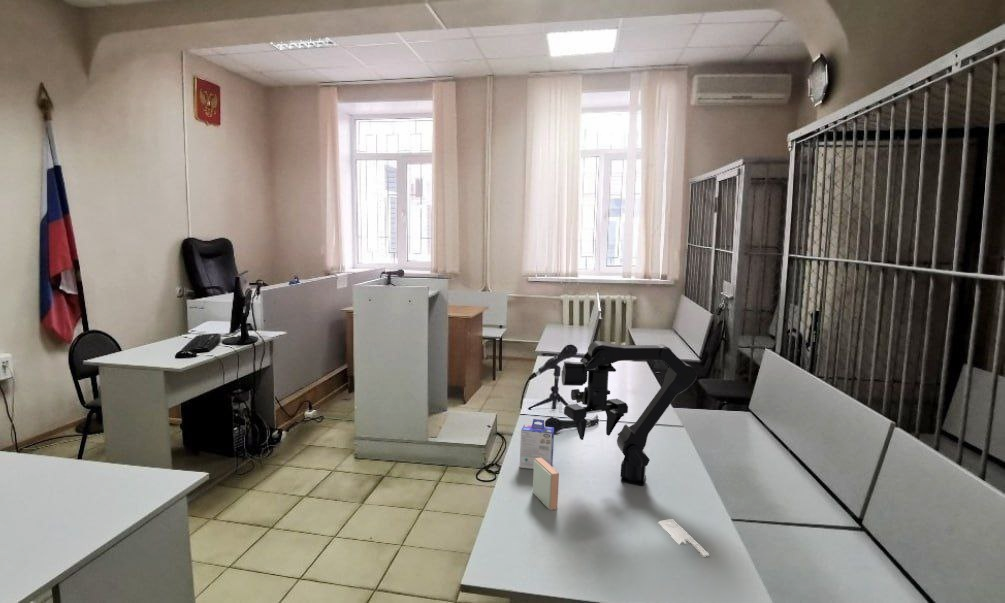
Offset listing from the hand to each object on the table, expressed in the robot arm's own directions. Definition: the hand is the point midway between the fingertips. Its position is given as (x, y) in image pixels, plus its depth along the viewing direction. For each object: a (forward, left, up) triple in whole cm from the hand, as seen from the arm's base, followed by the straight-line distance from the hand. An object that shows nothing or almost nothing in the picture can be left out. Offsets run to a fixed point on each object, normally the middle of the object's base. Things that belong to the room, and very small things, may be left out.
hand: (594, 437), depth 154 cm
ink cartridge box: (+18, -1, -13) cm, 22 cm away
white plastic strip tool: (-26, +21, -14) cm, 36 cm away
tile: (+9, +18, -13) cm, 24 cm away
